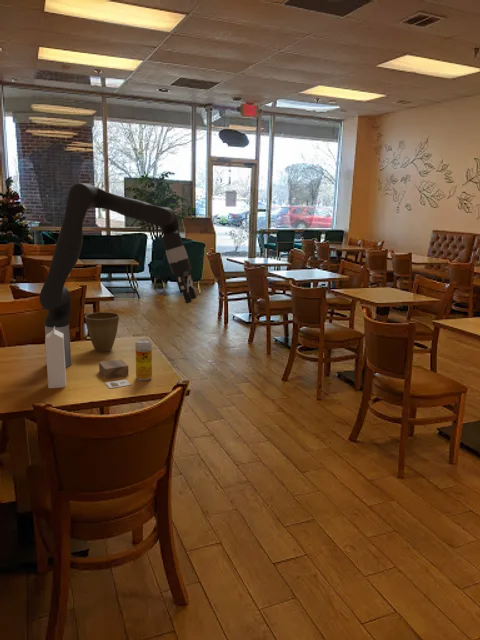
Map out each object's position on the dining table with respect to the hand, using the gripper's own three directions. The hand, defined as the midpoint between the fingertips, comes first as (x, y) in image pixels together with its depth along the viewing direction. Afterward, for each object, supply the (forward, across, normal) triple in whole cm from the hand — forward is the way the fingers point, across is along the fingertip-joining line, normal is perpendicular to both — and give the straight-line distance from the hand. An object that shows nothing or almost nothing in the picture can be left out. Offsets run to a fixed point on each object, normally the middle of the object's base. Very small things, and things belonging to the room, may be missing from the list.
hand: (191, 300), depth 192 cm
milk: (+15, +18, -54) cm, 59 cm away
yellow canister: (+24, +4, -26) cm, 36 cm away
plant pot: (+14, -27, -54) cm, 62 cm away
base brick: (+19, +2, -39) cm, 43 cm away
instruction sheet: (+21, +13, -34) cm, 42 cm away
